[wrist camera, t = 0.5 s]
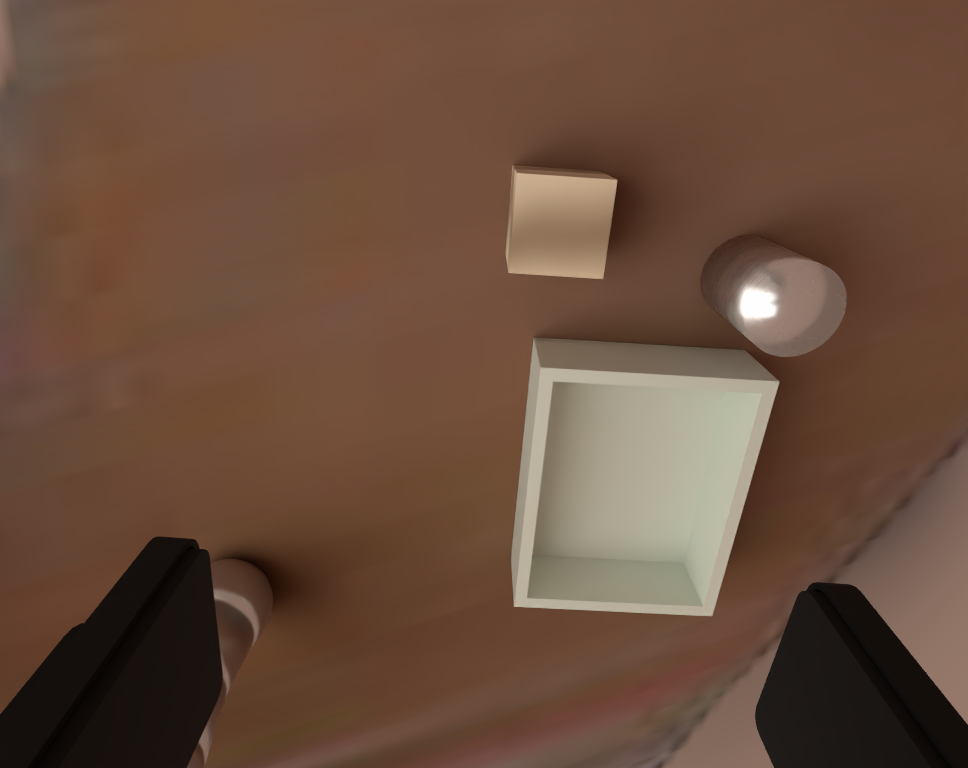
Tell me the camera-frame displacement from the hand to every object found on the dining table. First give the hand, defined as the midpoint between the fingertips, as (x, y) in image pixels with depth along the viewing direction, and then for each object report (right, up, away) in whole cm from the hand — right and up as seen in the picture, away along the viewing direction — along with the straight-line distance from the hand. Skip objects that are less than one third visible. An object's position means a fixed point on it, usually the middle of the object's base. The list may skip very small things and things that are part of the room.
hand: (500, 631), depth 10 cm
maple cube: (+4, +14, +26) cm, 30 cm away
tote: (+9, -1, +33) cm, 34 cm away
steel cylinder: (+16, +11, +27) cm, 33 cm away
